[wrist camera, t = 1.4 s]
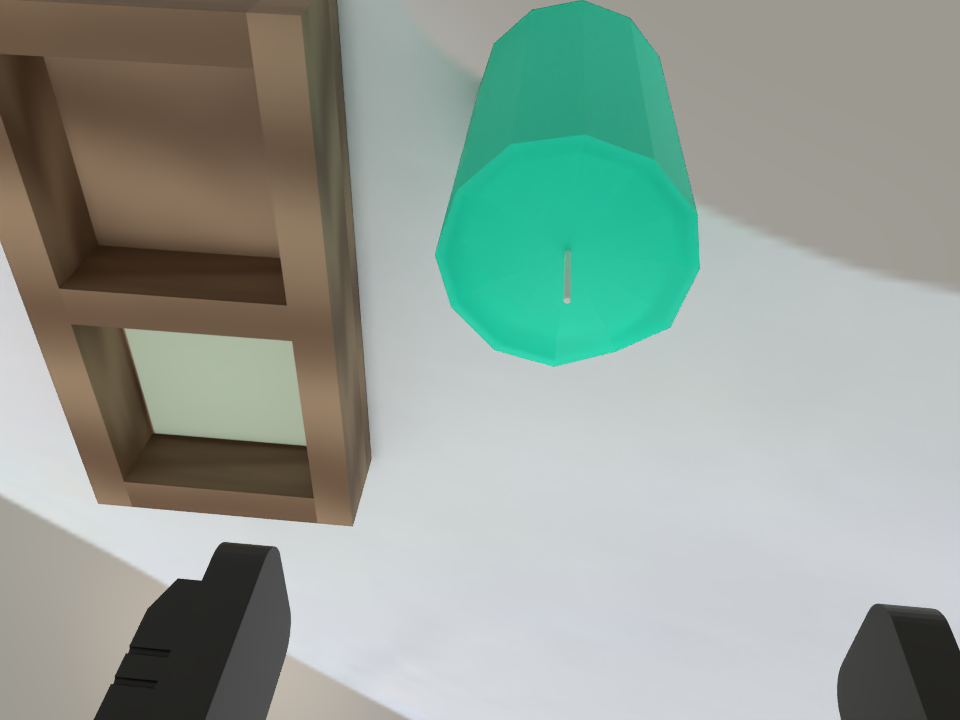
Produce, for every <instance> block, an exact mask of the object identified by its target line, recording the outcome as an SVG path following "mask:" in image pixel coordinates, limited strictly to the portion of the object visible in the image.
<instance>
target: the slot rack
mask: <svg viewBox="0 0 960 720" xmlns="http://www.w3.org/2000/svg"><path fill="white" fill-rule="evenodd" d="M0 241H1V244H2V247H3V250H4V252H5V255H6V258H7V260H8V263H9V266H10V268H11V271H12V274H13V276H14V279H15V282H16V284H17V287H18V290H19V293H20V295H21V298H22V301H23V303H24V306H25V309H26V311H27V314H28V317H29V319H30V322H31V325H32V327H33V330H34V333H35V335H36V338H37V341H38V344H39V346H40V349H41V352H42V354H43V357H44V360H45V362H46V365H47V368H48V370H49V373H50V376H51V378H52V381H53V384H54V387H55V389H56V392H57V395H58V397H59V400H60V403H61V405H62V408H63V411H64V413H65V416H66V419H67V421H68V424H69V427H70V429H71V432H72V435H73V438H74V440H75V443H76V446H77V448H78V451H79V454H80V456H81V459H82V462H83V464H84V467H85V470H86V472H87V475H88V478H89V481H90V483H91V486H92V489H93V491H94V494H95V497H96V499H97V502H98V504H107V505H119V506H130V507H141V508H152V509H164V510H175V511H186V512H197V513H208V514H220V515H231V516H242V517H253V518H264V519H276V520H287V521H298V522H309V523H321V524H332V525H343V526H353V524H354V520H355V516H356V513H357V509H358V506H359V502H360V498H361V495H362V491H363V488H364V484H365V480H366V477H367V473H368V470H369V466H370V462H371V448H370V435H369V422H368V409H367V395H366V382H365V369H364V356H363V342H362V329H361V316H360V303H359V289H358V276H357V263H356V250H355V236H354V223H353V210H352V197H351V184H350V170H349V157H348V144H347V131H346V117H345V104H344V91H343V78H342V64H341V51H340V38H339V25H338V11H337V0H0Z"/></svg>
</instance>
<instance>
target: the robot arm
mask: <svg viewBox="0 0 960 720" xmlns="http://www.w3.org/2000/svg"><path fill="white" fill-rule="evenodd" d="M290 627H291V613H290V606H289V601H288V595H287V590H286V585H285V579H284V574H283V568H282V563H281V557H280V553H279V550H278V548H277V547H273V546H262V545H251V544H240V543H229V542H223V543H221V544H220V545H219V546H218V547H217V549H216V550H215V552H214V554H213V556H212V559H211V561H210V563H209V565H208V568H207V570H206V572H205V575H204V577H203V579H202V581H199V580H188V579H177V580H176V581H175V582H174V583H173V584H172V585H171V586H170V587H169V588H168V589H167V590H166V591H165V592H164V593H163V594H162V595H161V596H160V597H159V598H158V599H157V600H156V601H155V602H154V603H153V604H152V605H151V606H150V607H149V608H148V609H147V611H146V613H145V615H144V617H143V619H142V621H141V623H140V625H139V627H138V630H137V632H136V634H135V636H134V638H133V640H132V642H131V644H130V650H129V653H128V654H126V655H125V657H124V658H123V660H122V662H121V665H120V667H119V669H118V671H117V673H116V675H115V681H114V684H111V685H110V687H109V689H108V691H107V693H106V695H105V698H104V700H103V702H102V704H101V706H100V708H99V710H98V712H97V714H96V716H95V718H94V720H266V717H267V714H268V711H269V708H270V704H271V701H272V698H273V695H274V691H275V688H276V685H277V682H278V679H279V676H280V672H281V669H282V666H283V663H284V660H285V656H286V652H287V648H288V643H289V637H290ZM837 698H838V707H839V712H840V717H841V720H960V650H959V648H958V645H957V643H956V640H955V638H954V636H953V633H952V631H951V628H950V626H949V624H948V622H947V620H946V618H945V617H944V615H943V614H942V613H941V612H939V611H938V610H936V609H931V608H920V607H909V606H898V605H887V604H875V605H873V606H872V607H871V608H870V610H869V612H868V614H867V615H866V617H865V619H864V621H863V623H862V625H861V627H860V629H859V631H858V633H857V635H856V637H855V639H854V641H853V643H852V645H851V647H850V649H849V651H848V653H847V655H846V657H845V659H844V661H843V663H842V665H841V667H840V671H839V675H838V683H837Z"/></svg>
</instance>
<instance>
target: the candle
mask: <svg viewBox="0 0 960 720" xmlns="http://www.w3.org/2000/svg"><path fill="white" fill-rule="evenodd" d="M435 256H436V259H437V263H438V266H439V269H440V272H441V275H442V279H443V282H444V285H445V288H446V291H447V295H448V298H449V301H450V304H451V307H452V308H453V309H454V310H455V311H456V312H457V313H458V314H459V315H460V316H461V317H462V318H463V319H464V320H465V321H466V322H467V323H468V324H469V325H470V326H471V327H472V328H473V329H474V330H475V331H476V332H477V333H478V334H479V335H480V336H481V337H482V338H483V339H484V340H485V341H486V342H487V343H488V344H489V345H490V346H491V347H492V348H493V349H494V350H496V351H500V352H503V353H507V354H511V355H514V356H518V357H521V358H525V359H528V360H532V361H535V362H539V363H542V364H546V365H549V366H553V367H554V366H558V365H563V364H567V363H571V362H575V361H579V360H583V359H587V358H591V357H595V356H599V355H604V354H608V353H612V352H616V351H618V350H620V349H623V348H625V347H627V346H629V345H632V344H634V343H636V342H639V341H641V340H643V339H645V338H648V337H650V336H652V335H654V334H657V333H659V332H661V331H663V330H666V329H668V328H670V327H671V325H672V323H673V321H674V319H675V317H676V315H677V313H678V311H679V309H680V307H681V305H682V303H683V301H684V299H685V297H686V295H687V293H688V291H689V289H690V287H691V285H692V283H693V281H694V279H695V277H696V275H697V273H698V271H699V269H700V264H699V239H698V215H697V210H696V206H695V202H694V198H693V194H692V190H691V186H690V182H689V178H688V173H687V170H686V165H685V161H684V157H683V153H682V148H681V145H680V140H679V136H678V132H677V128H676V124H675V119H674V116H673V111H672V107H671V103H670V99H669V95H668V91H667V87H666V82H665V78H664V74H663V70H662V66H661V62H660V57H659V56H658V55H657V53H656V52H655V51H654V49H653V48H652V47H651V45H650V44H649V43H648V41H647V40H646V39H645V37H644V36H643V35H642V33H641V32H640V31H639V30H638V28H637V27H636V25H635V24H634V22H633V21H632V20H631V19H630V18H629V17H627V16H624V15H621V14H618V13H616V12H613V11H611V10H608V9H605V8H603V7H600V6H597V5H595V4H592V3H589V2H587V1H584V0H580V1H575V2H570V3H565V4H560V5H555V6H549V7H544V8H539V9H534V10H531V11H530V12H529V13H528V14H527V15H526V16H524V17H523V18H522V19H521V20H520V21H519V22H518V23H517V24H515V25H514V26H513V27H512V28H511V29H510V30H509V31H508V32H507V33H505V34H504V35H503V36H502V37H501V38H500V39H499V40H497V41H496V42H495V43H494V45H493V48H492V51H491V55H490V57H489V60H488V63H487V66H486V70H485V73H484V76H483V79H482V82H481V85H480V88H479V91H478V95H477V99H476V102H475V106H474V110H473V114H472V117H471V121H470V125H469V129H468V132H467V136H466V140H465V144H464V148H463V151H462V155H461V159H460V163H459V166H458V170H457V174H456V178H455V181H454V185H453V189H452V193H451V196H450V200H449V204H448V208H447V211H446V215H445V219H444V223H443V227H442V230H441V234H440V238H439V242H438V245H437V249H436V253H435Z"/></svg>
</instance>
